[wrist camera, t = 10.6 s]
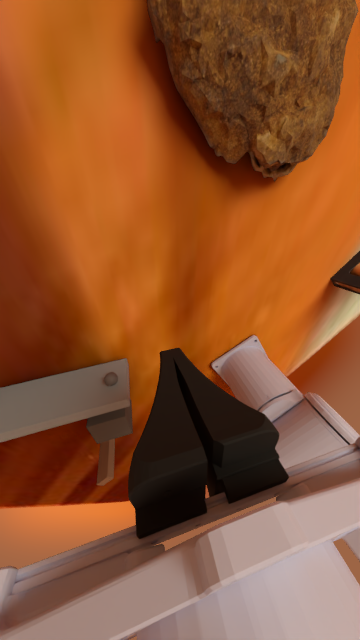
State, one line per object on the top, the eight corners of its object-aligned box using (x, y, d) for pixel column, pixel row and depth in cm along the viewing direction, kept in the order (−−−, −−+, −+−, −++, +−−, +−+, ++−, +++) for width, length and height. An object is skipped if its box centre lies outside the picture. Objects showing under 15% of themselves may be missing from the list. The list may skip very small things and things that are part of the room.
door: (4, 395, 22) (-31, 450, 17) (-11, 380, 21) (-53, 436, 16) (128, 364, 24) (130, 406, 19) (123, 349, 23) (123, 390, 18)
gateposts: (-90, 366, 18) (-195, 448, 12) (-79, 354, 18) (-182, 432, 12) (106, 429, 31) (103, 485, 25) (115, 423, 31) (113, 478, 25)
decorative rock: (342, 99, 17) (243, -211, 9) (402, 67, 13) (314, -467, 6) (251, 213, 19) (117, 36, 12) (280, 212, 15) (114, -41, 8)
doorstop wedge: (81, 372, 24) (72, 407, 20) (117, 363, 25) (116, 395, 21) (101, 408, 28) (97, 443, 24) (131, 400, 29) (132, 433, 25)
